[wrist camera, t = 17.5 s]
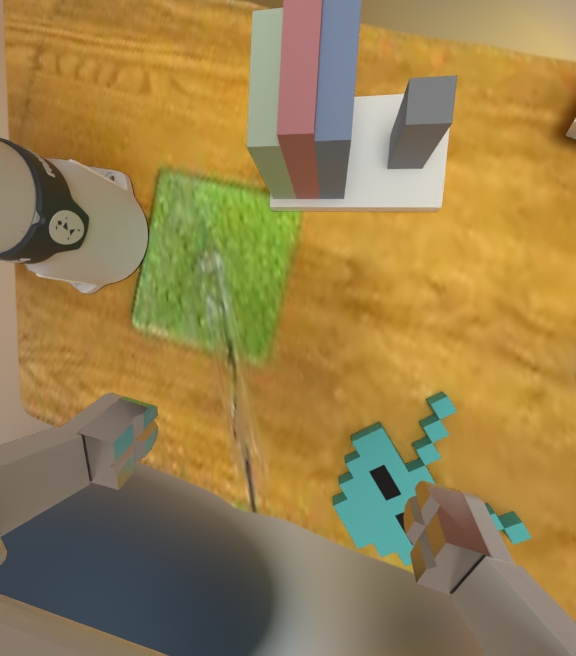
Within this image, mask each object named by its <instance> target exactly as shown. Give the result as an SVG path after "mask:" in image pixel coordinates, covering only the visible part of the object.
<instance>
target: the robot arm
mask: <svg viewBox="0 0 576 656" xmlns="http://www.w3.org/2000/svg"><path fill="white" fill-rule="evenodd" d="M113 180H114V181H113ZM147 242H148V227H147V222H146V218H145V215H144V213H143V211H142V209H141V207H140V205H139V204H138V202H137V201H136V199H135V197H134V195H133V189H132V184H131V181H130V178H129V177H128V175H126V174H124V173H122V172H120V171H115V170H109V169H102V168H96V167H90V166H85V165H83V164H81V163H79V162H77V161H75V160H72V159H69V160H68V161H66V160H63V159H54V158H43V157H41V156H39V155H38V154H36V153H35V152H33V151H31V150H29V149H27V148H25V147H23V146H21V145H19V144H15V143H13V142H11V141H9V140H6V139H2V138H0V261H5V262H12V263H23V264H25V265H26V266H27V269H28V270H30V271H32V272H35V273H36V275H37V276H39V277H43V278H48V279H54V280H61V281H67V282H69V283H70V284H71V285H72V286H74V287H75V288H76V289H78V290H79V291H80V292H82V293H86V294H93V293H95V292H96V291H98V290H99V289H100V288H101V287H103V286H104V285H106V284H110V283H115V282H118V281H121V280H123V279H125V278H126V277H128V276H129V275H131V274H132V273H133V272H134V271H135V270H136V268H137V267H138V266H139V264H140V263H141V261H142V259H143V257H144V254H145V251H146V248H147ZM157 416H158V414H157V407H156V406H154V405H151V404H147V403H144V402H141V401H138V400H135V399H131V398H128V397H124V396H121V395H118V394H114V393H107V394H105V395H103V396H102V397H100V398H99V399H98V400H96V401H95V402H94V403H92V404H91V405H90V406H89V407H87V408H86V409H85V410H83V411H82V412H81V413H79V414H78V415H77V416H75V417H74V418H73V419H71V420H70V421H69V422H67V423H66V424H65V425H63V426H62V427H61V428H56V427H54V428H50V429H48V430H44V431H42V432H38V433H35V434H32V435H29V436H26V437H23V438H20V439H17V440H14V441H11V442H8V443H5V444H2V445H0V537H1V536H2V535H4V534H6V533H8V532H9V531H11V530H13V529H14V528H16V527H18V526H19V525H21V524H23V523H25V522H26V521H28V520H29V519H31V518H33V517H35V516H36V515H38V514H40V513H42V512H43V511H45V510H47V509H48V508H50V507H52V506H54V505H55V504H57V503H59V502H60V501H62V500H64V499H65V498H67V497H69V496H70V495H72V494H74V493H76V492H77V491H79V490H81V489H82V488H84V487H86V486H88V485H89V484H90V482H92V483H96V484H99V485H104V486H107V487H110V488H114V489H117V490H119V489H120V487H121V486H122V485H123V484H124V483H125V481H126V480H127V479H128V478H129V476H130V475H131V474H132V473H133V471H134V470H135V462H136V461H138V460H140V459H142V458H144V457H146V455H147V454H148V453H149V451H150V450H151V449H152V447H153V445H154V443H155V441H156V438H157V434H158V426H157V424H156V423H155V421H154V419H155V418H156V417H157ZM415 492H416V496H413V497H411V498H409V499H408V501H407V503H406V505H405V510H404V527H405V532H406V536H407V537H408V538H409V540H410V541H411V543H412V544H413V545H414V546H413V548H412V550H411V552H410V556H411V561H412V566H413V570H414V575H415V580H416V583H417V584H420V585H423V586H426V587H429V588H431V589H434V590H437V591H440V592H443V593H446V594H449V595H451V596H450V598H451V599H452V601H453V603H454V604H455V606H456V608H457V609H458V611H459V613H460V614H461V616H462V617H463V619H464V621H465V622H466V624H467V626H468V627H469V629H470V630H471V632H472V634H473V635H474V637H475V639H476V640H477V642H478V644H479V645H480V647H481V648H482V650H483V652H484V653H485V655H486V656H576V622H575V621H574V620H573V619H572V618H571V617H570V616H569V615H568V614H567V613H566V612H565V611H564V610H563V609H562V608H561V607H560V606H559V605H558V604H557V603H556V602H555V601H554V600H553V599H552V597H551V596H550V595H549V594H548V593H547V592H546V591H545V590H544V589H543V588H542V587H541V586H540V585H539V584H538V583H537V582H536V581H535V580H534V579H533V578H532V577H531V576H530V575H529V574H528V572H527V571H526V570H525V569H524V568H523V567H521V566H518V565H515V563H514V561H513V559H512V557H511V555H510V553H509V551H508V549H507V547H506V545H505V543H504V541H503V539H502V537H501V535H500V533H499V531H498V530H497V528H496V526H495V524H494V522H493V520H492V518H491V516H490V514H489V512H488V510H487V508H486V506H485V504H484V502H483V500H482V499H481V498H480V497H479V496H478V495H474V494H470V493H467V492H463V491H459V490H456V489H452V488H449V487H445V486H441V485H438V484H434V483H430V482H426V481H423V480H422V481H420V482H418V484H417V485H416V487H415ZM6 554H7V551H6V549H5V547H4V545H3V542H2V540H1V538H0V564H1V563H2V562H3V561H4V560H5V559H6ZM0 656H168V655H165V654H162V653H159V652H157V651H154V650H151V649H148V648H146V647H143V646H140V645H137V644H135V643H132V642H129V641H126V640H124V639H121V638H118V637H116V636H113V635H110V634H107V633H104V632H102V631H99V630H96V629H94V628H91V627H88V626H86V625H83V624H80V623H77V622H75V621H71V620H69V619H66V618H63V617H61V616H58V615H55V614H53V613H50V612H47V611H44V610H42V609H39V608H36V607H33V606H31V605H28V604H25V603H22V602H20V601H17V600H14V599H12V598H9V597H6V596H3V595H1V594H0Z"/></svg>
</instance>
